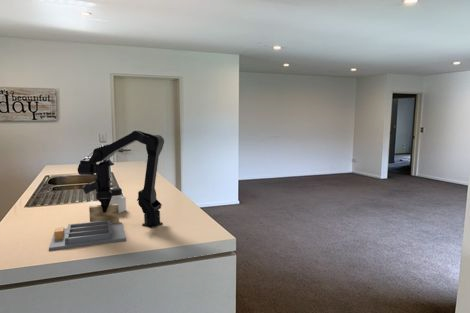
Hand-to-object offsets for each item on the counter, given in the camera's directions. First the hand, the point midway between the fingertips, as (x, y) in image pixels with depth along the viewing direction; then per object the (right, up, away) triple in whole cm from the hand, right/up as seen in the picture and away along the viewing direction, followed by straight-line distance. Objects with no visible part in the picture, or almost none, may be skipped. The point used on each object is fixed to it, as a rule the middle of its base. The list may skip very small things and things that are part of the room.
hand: (104, 210), depth 150 cm
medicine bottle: (-2, -4, +20) cm, 20 cm away
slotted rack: (+1, -8, -17) cm, 19 cm away
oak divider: (0, -6, +1) cm, 6 cm away
